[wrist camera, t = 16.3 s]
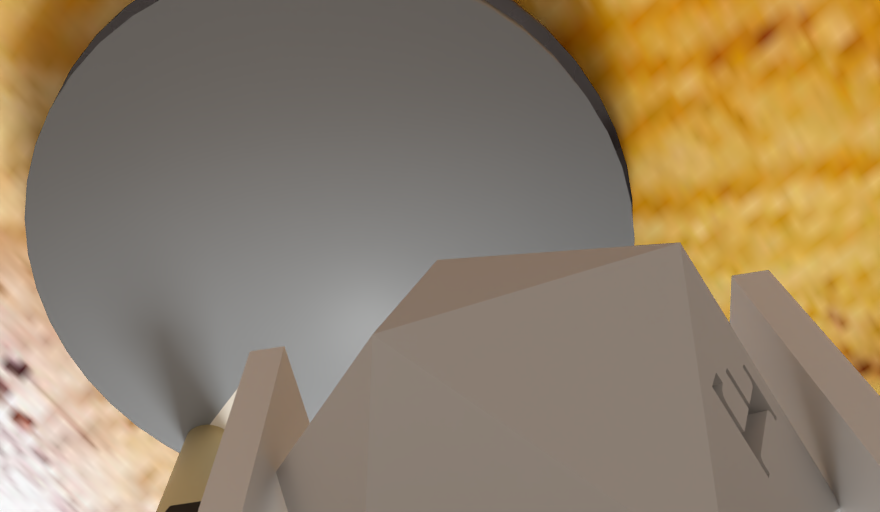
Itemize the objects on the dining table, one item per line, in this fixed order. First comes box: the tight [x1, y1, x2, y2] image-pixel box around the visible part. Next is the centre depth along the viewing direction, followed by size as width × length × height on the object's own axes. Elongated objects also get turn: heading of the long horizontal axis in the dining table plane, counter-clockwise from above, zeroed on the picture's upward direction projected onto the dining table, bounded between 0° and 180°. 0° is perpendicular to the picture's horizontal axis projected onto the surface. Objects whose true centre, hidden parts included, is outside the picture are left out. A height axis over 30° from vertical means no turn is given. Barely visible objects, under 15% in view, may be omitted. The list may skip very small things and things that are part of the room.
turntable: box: [25, 0, 634, 512], centre depth 30 cm, size 26×26×8 cm
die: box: [276, 243, 840, 512], centre depth 12 cm, size 8×9×10 cm
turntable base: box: [54, 0, 632, 206], centre depth 34 cm, size 27×27×1 cm
